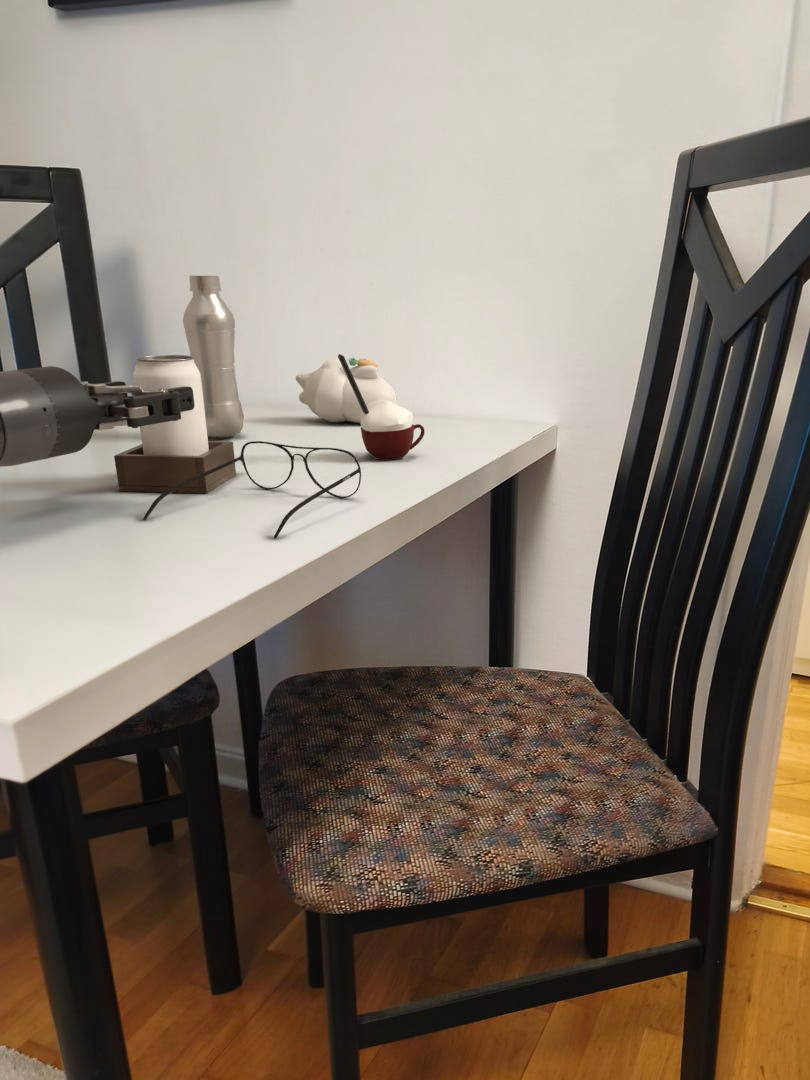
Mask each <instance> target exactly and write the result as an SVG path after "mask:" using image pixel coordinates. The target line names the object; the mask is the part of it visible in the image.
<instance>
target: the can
mask: <svg viewBox="0 0 810 1080" xmlns="http://www.w3.org/2000/svg"><path fill="white" fill-rule="evenodd" d="M134 359H135V361H136V364H135V367H134V370H133V373H132V375H133V376H132V377H133V378H132V379H133V385H136V386H138V387H140V388H141V389H142V390H158V389H159V388H164V389H170V388H176V387H183V386H186V387H191V388H192V389H193V396H194V409H193V410H189V411H184V412H181V419H179V420H178V421H168V422H162V423H157V424H151V425H146V426H140V427H139V431H140V439H141V444H142V446H143V453H144V455H178V456H200V455H201V454H203V453H205V452H207V451H209V447H208V441H209V439H208V438H209V437H208V436H207V428H206V419H205V410H204V401H203V392H202V383H201V376H200V372H199V370H198V368H197V366H196V365H195V363H194V357H193V356H190V355H184V354H159V355H158V354H157V355H144V356H137V357H135V358H134Z"/></svg>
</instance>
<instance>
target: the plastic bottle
mask: <svg viewBox="0 0 810 1080" xmlns="http://www.w3.org/2000/svg"><path fill="white" fill-rule="evenodd" d="M188 279H189V291H190V292H192V297H191V299H190V301H189V302H188V304H187V305H186V308H185V310H184V312H183V317H182V324H183V329H184V333H185V338H186V342H187V346H188V350H189V354H190V355H189V356H193V357H194V363H195V365H196V366H197V368H198V370H199V372H200V376H201V383H202V392H203V401H204V410H205V419H206V428H207V437H208V438H209V437H210V438H214V439H226V438H229V437H232V436H235V435H239V434H240V433H242V430H243V428H244V421H245V420H244V419H245V415H244V409H243V406H242V401H241V400H240V396H239V390H238V383H237V378H236V366H235V340H236V339H235V337H236V330H235V328H236V320H235V317H234V314H233V312H232V310H231V309H230V307H229V306H228V304H227V303H226V302H225V301H224V300H223V298H222V297H221V293H220V292H222V287H221V282H220V275H189V276H188Z"/></svg>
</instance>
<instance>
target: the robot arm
mask: <svg viewBox="0 0 810 1080" xmlns="http://www.w3.org/2000/svg"><path fill="white" fill-rule="evenodd" d="M128 394H131V395H128ZM193 409H194V396H193V389H192V388H191V387H186V386H183V387H176V388H170V389H164V388H159V389H158V390H142V389H141V388H140V387H138V386H136V385H134V384H129V385H127V384H126V382H124V381H118V380H116V381H109V382H102V383H101V382H100V383H89V381H80V380H79V379H78V378H77V377H76V376H75V375H73V373H71V372H70V371H69V370H68V371H67V370H66V369H64V368H62V367H58V366H51V365H50V366H49V365H48V366H40V367H31V368H22V369H14V370H4V371H0V468H3V467H13V466H19V465H24V464H28V463H32V462H33V463H34V462H37V461H38V462H39V461H42V460H47V459H51V458H57V457H60V456H66V455H71V454H75V453H77V452H80V451H82V450H83V449H84V448H86V446H88V444H89V443H90V441H91V439H92V437H93V434H94V432H95V431H105V430H113V429H114V428H115V427H125V426H127V427H128V428H132V429H139V428H140V426H146V425H151V424H157V423H162V422H168V421H178V420H179V419H181V412H184V411H189V410H193Z"/></svg>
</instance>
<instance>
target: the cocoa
mask: <svg viewBox="0 0 810 1080" xmlns="http://www.w3.org/2000/svg"><path fill="white" fill-rule="evenodd" d="M337 359H338V360H340V363H341V365H342V367H343V369H344V371H345V374H346V376H347V378H348V380H349V382H350V385H351V387H352V389H353V391H354V393H355V396H356V398H357V400H358V402H359V404H360V407H361V409H362V414H361V418H360V423H359V424H360V426H361V427H360V433H361V438H362V442H363V445H364V447H365V450H366V452H367V453H368V454H369V455H370V456H371V457H373V458H374V459H377V460H381V461H383V460H386V461H387V460H388V461H389V460H397V459H398V460H399V459H401V458H404V457H406V455H408V454H409V452H410V450H412V449H414V448H415V447H416V446H418V445H419V444H420V442H421V441H422V440H423V438H424V436H425V427H424V426H423V425H421V424H419V423H416V424H414V415H413V412H411V411H410V410H408V409H406V408H405V407H402V406H400V405H398V404H397V405H396V404H395V403H393V402H391V401H388V400H376V401H373V402H370V403H368V404H367V405H366V404H365V402H364V399H363V397H362V395H361V393H360V391H359V388H358V386H357V384H356V382H355V380H354V377H353V375H352V373H351V371H350V369H351V368H350V365H349V364H348V362H347V360H346V357H345V356H344V355H343V354H340V353H338V355H337ZM416 429H419V430H420V434H419V436H418V437H417V438H416V440H415V441H414V437H415V436H414V434H415V430H416Z"/></svg>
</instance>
